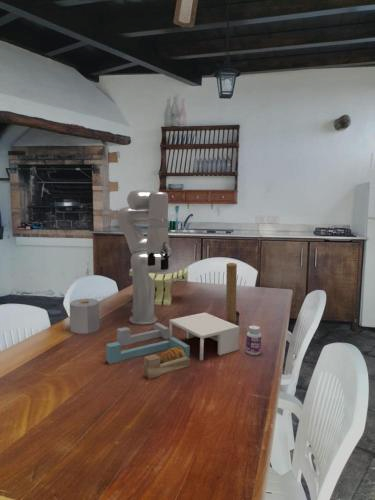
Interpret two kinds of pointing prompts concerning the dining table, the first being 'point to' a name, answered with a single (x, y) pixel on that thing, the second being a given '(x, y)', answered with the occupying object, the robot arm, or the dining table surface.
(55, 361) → the dining table surface
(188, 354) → the blue-grey long flat part
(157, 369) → the brown angular wooden piece
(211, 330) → the desk
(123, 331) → the tee stick
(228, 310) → the hammer
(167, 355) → the pastry
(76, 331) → the toilet paper roll
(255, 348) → the pill bottle
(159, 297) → the slatted curved stool
